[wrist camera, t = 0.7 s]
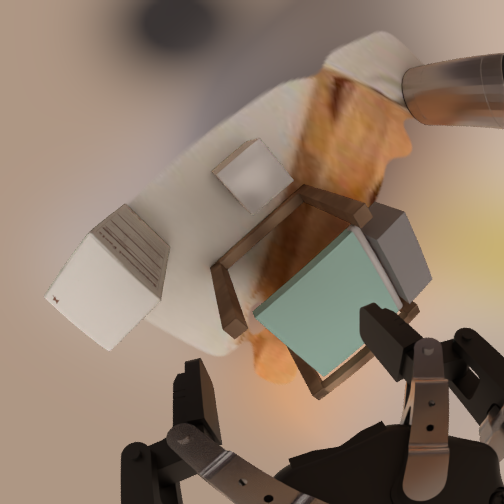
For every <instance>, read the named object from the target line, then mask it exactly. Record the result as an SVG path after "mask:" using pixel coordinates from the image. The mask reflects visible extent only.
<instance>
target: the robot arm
mask: <svg viewBox="0 0 504 504" xmlns="http://www.w3.org/2000/svg"><path fill="white" fill-rule="evenodd" d="M402 87H403V95H404V99H405V102H406V104H407V107H408V109H409V110H410V112H411V114H412V115H413V116H414V117H415V118H416V119H417V120H418V121H419V122H420V123H423V124H424V125H447V126H473V127H486V128H498V129H504V53H498V54H488V55H481V56H472V57H466V58H459V59H454V60H448V61H442V62H437V63H433V64H427V65H423V66H419V67H415V68H411V69H409V70H408V71H407V72H406V73H405V75H404V78H403V83H402ZM359 332H360V336H361V339H362V341H363V342H364V343H365V344H366V346H367V347H368V348H369V349H370V351H371V352H372V353H373V354H374V355H375V357H376V358H377V359H378V360H379V361H380V363H381V364H382V365H383V366H384V367H385V369H386V370H387V371H388V372H389V374H390V375H391V376H392V377H393V379H394V380H395V381H396V382H398V381H400V380H402V379H405V380H406V385H405V396H404V405H403V413H402V418H401V422H400V424H394V425H387V426H385V425H384V423H383V422H382V421H381V422H379V423H377V424H375V425H373V426H371V427H369V428H366V429H364V430H362V431H360V432H359V433H358V434H356V435H355V436H354V437H352V438H351V439H350V440H349V441H347V442H345V443H344V444H343V445H341V446H339V447H334V448H328V449H322V450H315V451H311V452H308V453H305V454H302V455H299V456H296V457H293V458H290V459H289V462H290V465H288V466H286V467H285V468H283V469H282V470H280V471H279V472H278V473H277V474H276V475H275V476H274V477H271V476H270V475H268V474H266V473H265V472H263V471H261V470H260V469H258V468H256V467H255V466H253V465H252V464H250V463H249V462H247V461H246V460H244V459H243V458H241V457H240V456H238V455H237V454H235V453H234V452H232V451H226V450H225V449H223V448H222V447H221V446H219V445H222V440H221V434H220V428H219V422H218V415H217V408H216V401H215V394H214V388H213V384H212V381H211V379H210V377H209V375H208V373H207V370H206V368H205V366H204V364H203V362H202V360H201V358H198V359H194V360H190V361H186V362H185V373H181V374H178V375H177V376H176V378H175V380H174V383H173V392H174V393H173V427H172V428H171V429H170V430H169V432H168V433H167V437H166V438H165V439H163V440H162V441H159V442H157V443H154V444H152V445H150V446H147V445H146V444H144V443H141V442H134V443H131V444H129V445H128V446H126V447H125V448H124V450H123V452H122V454H121V504H183V501H182V495H181V489H180V482H179V481H182V480H184V479H187V478H189V477H191V476H194V475H196V474H198V475H199V476H200V477H202V478H203V479H204V480H205V481H206V482H208V483H209V484H210V485H211V486H213V487H214V488H215V489H216V490H218V491H219V492H220V493H222V494H223V495H224V496H225V497H227V498H228V499H229V500H231V501H232V502H233V503H235V504H504V485H503V482H502V479H501V474H500V467H499V462H500V461H501V460H502V459H503V458H504V357H503V356H502V355H501V354H500V353H499V352H497V350H495V349H494V348H493V347H492V346H491V345H490V344H489V343H488V342H487V341H486V340H485V339H484V338H482V337H481V336H480V335H479V334H478V333H477V332H476V331H474V330H473V329H470V328H461V329H459V330H457V331H456V333H455V336H454V339H451V340H447V341H444V342H439V341H437V340H436V339H433V338H423V337H422V336H420V334H418V333H417V332H416V331H415V330H414V329H413V328H412V327H411V326H410V325H409V324H407V323H405V321H404V320H403V319H402V318H400V316H399V315H397V314H396V313H395V312H394V311H392V310H389V309H387V308H384V309H381V308H380V307H379V306H378V305H377V304H376V303H374V302H373V303H371V304H368V305H366V306H363V307H361V308H360V311H359ZM469 366H470V367H471V368H472V370H473V371H475V373H476V374H477V375H478V377H479V378H478V377H477V376H476V375H475V374H474V373H473V372H472V371H471V370H470V369H469ZM449 388H450V389H451V390H452V391H453V393H454V394H455V395H456V396H457V397H458V399H459V400H460V401H461V402H462V404H463V405H464V406H465V408H466V409H467V410H468V411H469V413H470V414H471V415H472V416H473V418H474V419H475V420H476V422H477V423H478V424H479V426H480V427H479V435H480V442H477V441H472V440H467V439H462V438H457V437H453V436H448V429H449Z"/></svg>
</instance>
